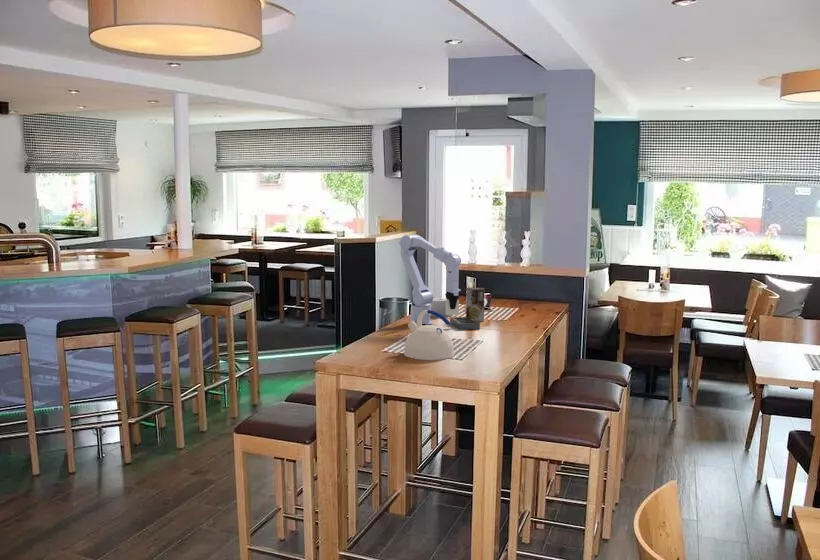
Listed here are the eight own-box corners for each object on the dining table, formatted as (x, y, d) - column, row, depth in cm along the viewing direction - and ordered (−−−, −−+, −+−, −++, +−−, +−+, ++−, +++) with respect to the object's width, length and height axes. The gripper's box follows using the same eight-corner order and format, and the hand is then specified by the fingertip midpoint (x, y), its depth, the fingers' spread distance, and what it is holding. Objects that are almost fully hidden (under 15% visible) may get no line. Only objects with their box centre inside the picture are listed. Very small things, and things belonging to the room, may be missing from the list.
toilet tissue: (458, 315, 373) (458, 299, 372) (437, 318, 365) (438, 301, 364) (447, 313, 380) (447, 297, 379) (427, 315, 373) (427, 299, 372)
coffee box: (483, 319, 363) (484, 287, 361) (483, 321, 357) (484, 289, 355) (465, 318, 364) (466, 287, 362) (465, 321, 358) (466, 289, 356)
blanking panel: (446, 314, 339) (446, 300, 338) (445, 314, 341) (445, 299, 340) (458, 314, 340) (459, 300, 340) (457, 314, 342) (458, 299, 341)
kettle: (424, 346, 300) (424, 304, 298) (464, 354, 287) (465, 309, 285) (392, 355, 284) (392, 310, 282) (433, 363, 271) (434, 316, 269)
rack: (459, 330, 335) (459, 323, 334) (449, 323, 350) (450, 317, 350) (479, 329, 337) (479, 322, 337) (469, 323, 353) (469, 316, 352)
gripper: (464, 282, 332) (464, 310, 334) (456, 278, 346) (456, 306, 348) (450, 282, 331) (449, 311, 333) (442, 278, 345) (442, 306, 347)
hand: (452, 308), depth 340 cm, fingers closed on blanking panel, 2 cm apart
